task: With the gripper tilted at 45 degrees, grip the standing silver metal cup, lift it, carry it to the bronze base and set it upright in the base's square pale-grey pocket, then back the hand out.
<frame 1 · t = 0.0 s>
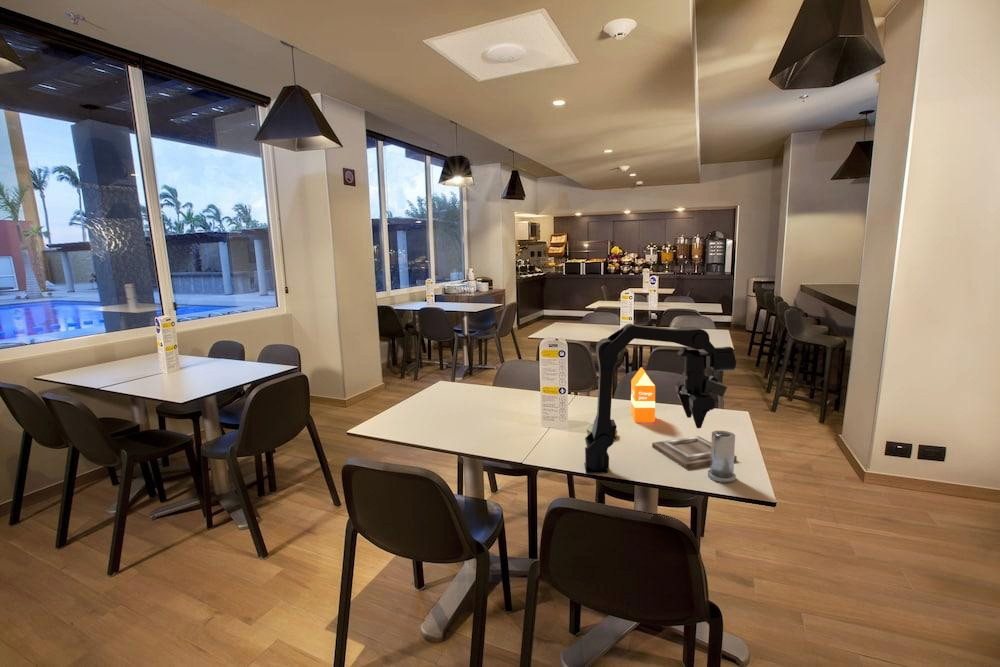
hand: (693, 422, 140), 15 cm above the table, tool pointing down, fingers open, 9 cm apart
orange juice: (642, 419, 188), on the table
decorated donut: (601, 436, 172), on the table
bronze base: (692, 453, 154), on the table
silver metal cup: (721, 477, 137), on the table
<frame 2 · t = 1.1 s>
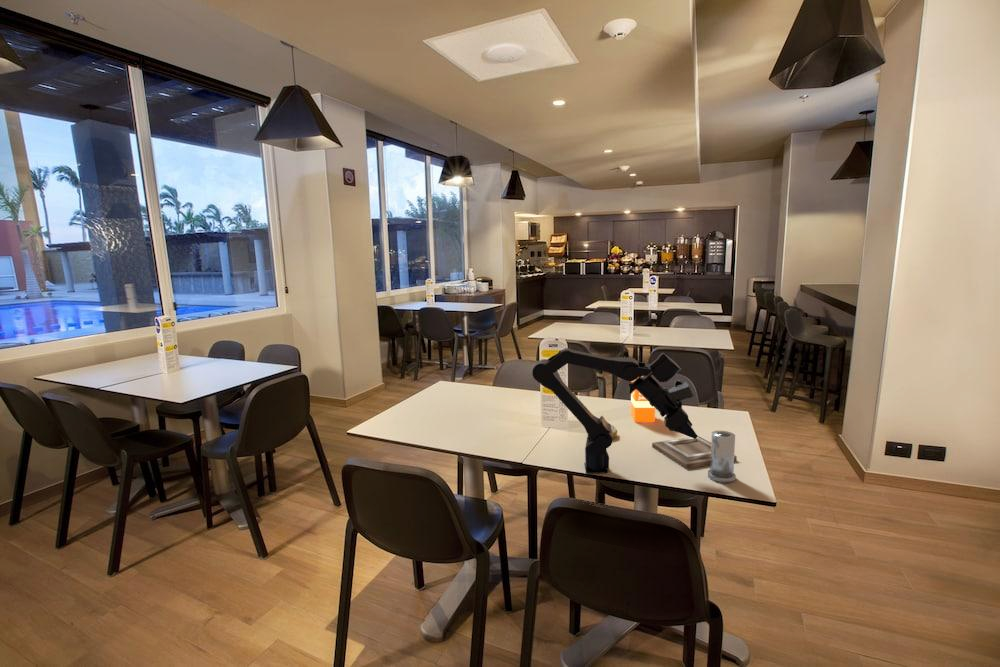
hand: (693, 431, 137), 13 cm above the table, tool tilted 45°, fingers open, 9 cm apart
nothing on the table moved.
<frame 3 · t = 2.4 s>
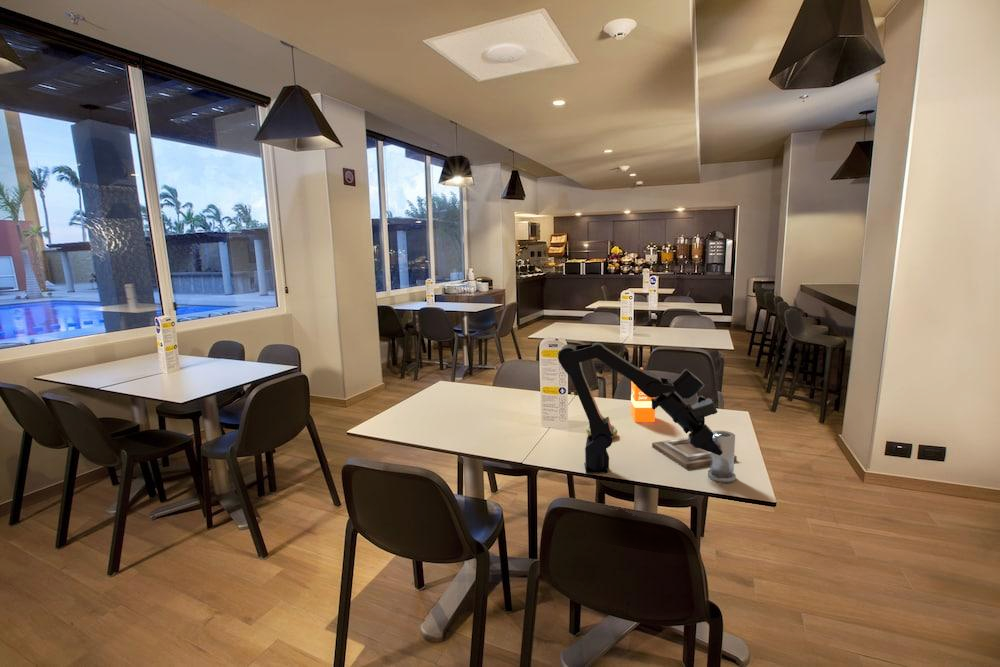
hand: (717, 447, 136), 9 cm above the table, tool tilted 45°, fingers open, 9 cm apart
nothing on the table moved.
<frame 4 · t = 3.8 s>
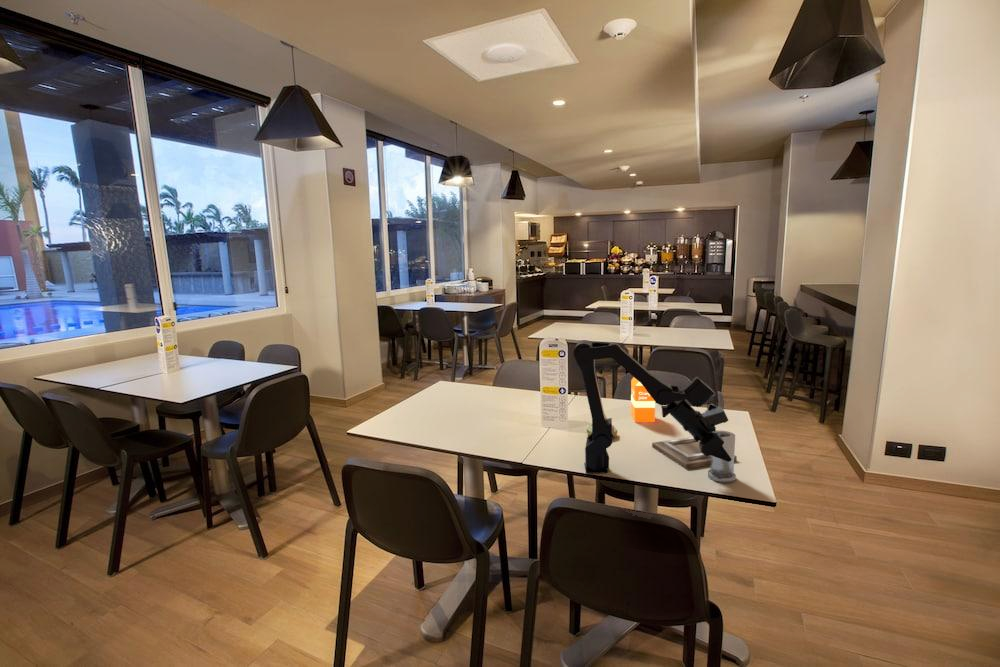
hand: (727, 456, 135), 7 cm above the table, tool tilted 45°, fingers closed on silver metal cup, 6 cm apart
silver metal cup: (721, 477, 137), on the table, touching gripper
everything else where it was.
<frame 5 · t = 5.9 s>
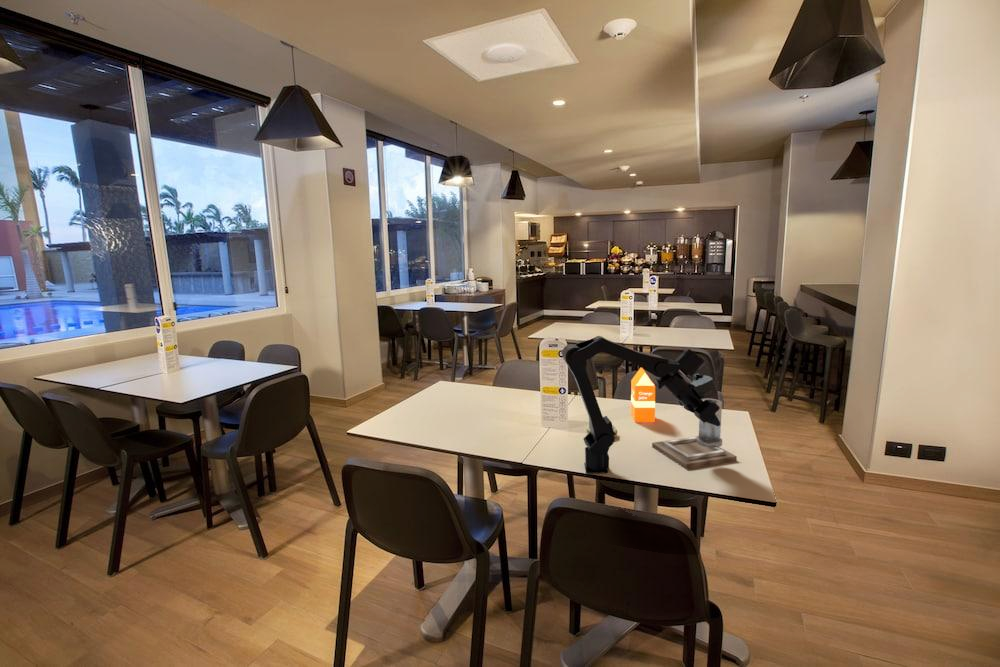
hand: (714, 421, 144), 13 cm above the table, tool tilted 45°, fingers closed on silver metal cup, 6 cm apart
silver metal cup: (709, 442, 145), point 7 cm above the table, touching gripper
everything else where it was.
when the fingers open (9 cm above the table, at t = 8.0 s): silver metal cup drops 1 cm, resting on bronze base.
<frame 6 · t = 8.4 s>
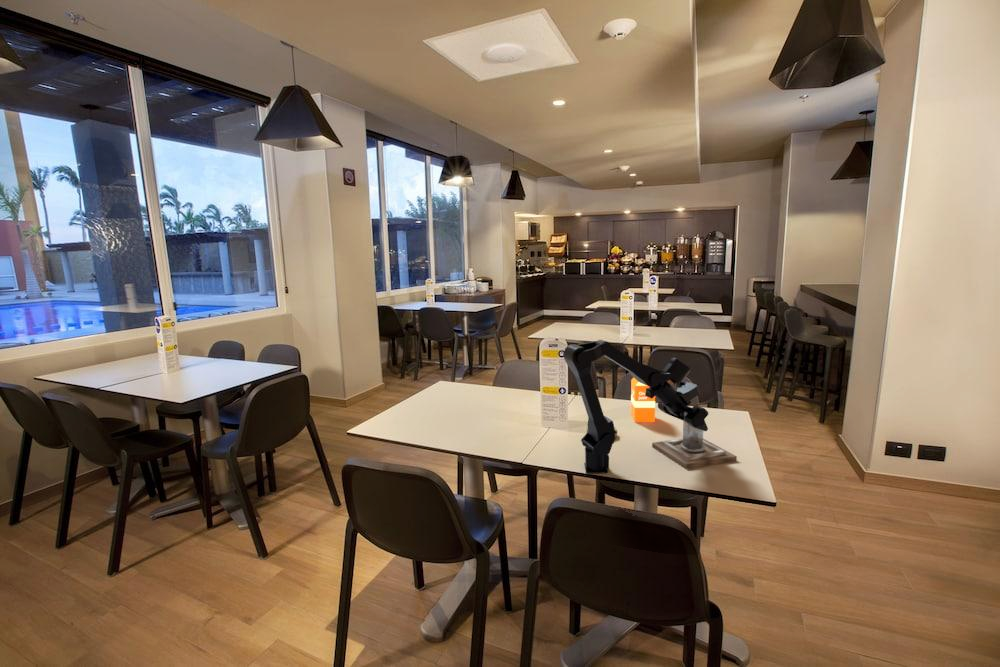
hand: (697, 425, 153), 9 cm above the table, tool tilted 45°, fingers open, 9 cm apart
silver metal cup: (692, 449, 154), point 2 cm above the table, touching bronze base
everything else where it was.
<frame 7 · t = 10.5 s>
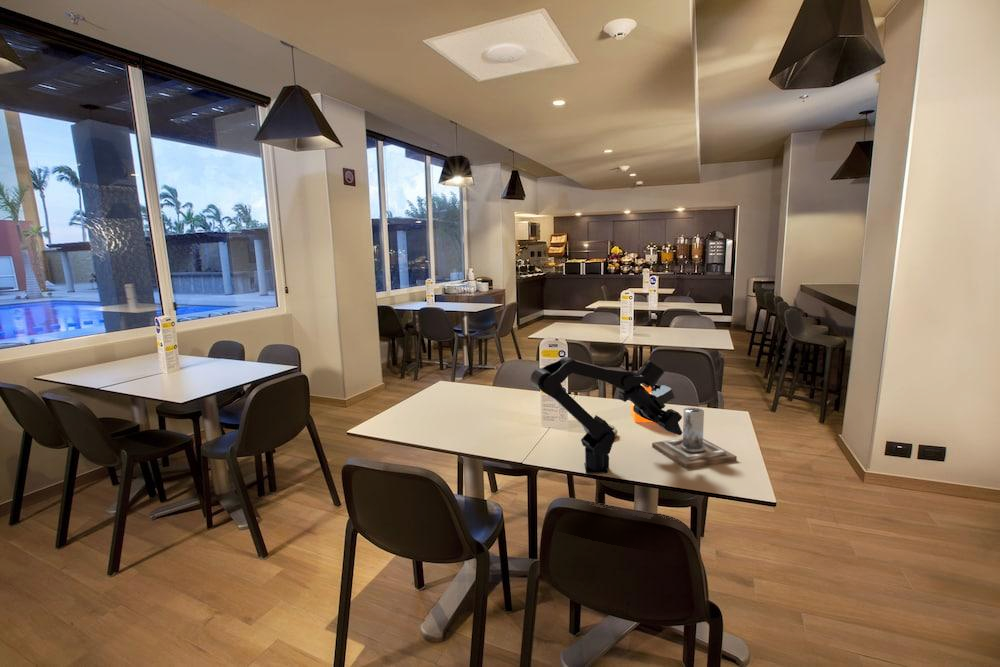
hand: (672, 429, 151), 9 cm above the table, tool tilted 45°, fingers open, 9 cm apart
nothing on the table moved.
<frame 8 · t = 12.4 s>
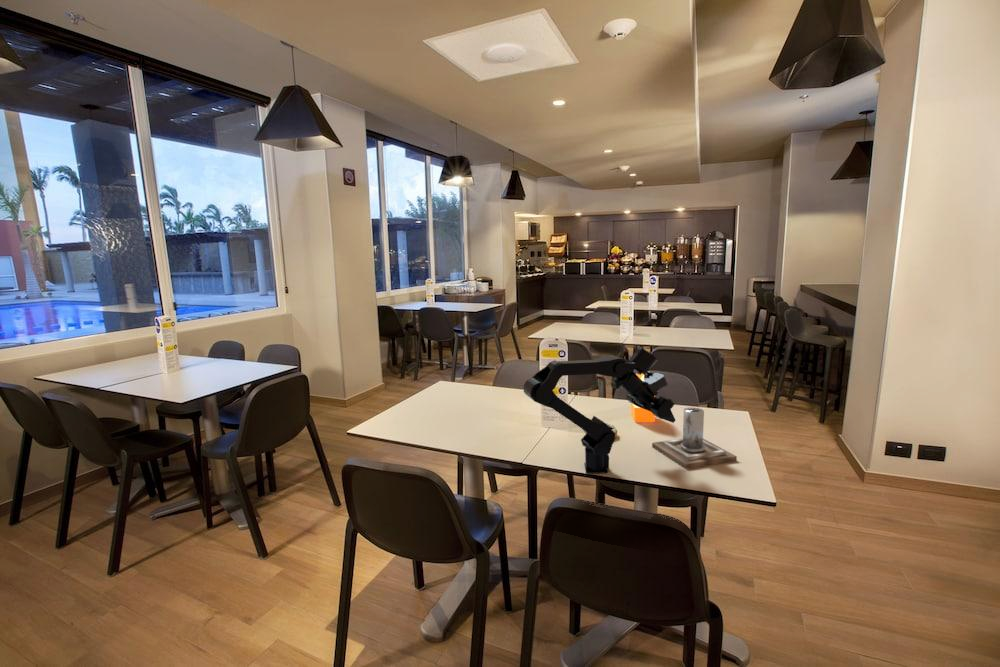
hand: (665, 416, 149), 14 cm above the table, tool tilted 45°, fingers open, 9 cm apart
nothing on the table moved.
at the end: silver metal cup 0.1 cm off-centre on the bronze base, point 1.5 cm above the bronze base's base; silver metal cup tilted 0°; the gripper is holding nothing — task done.
